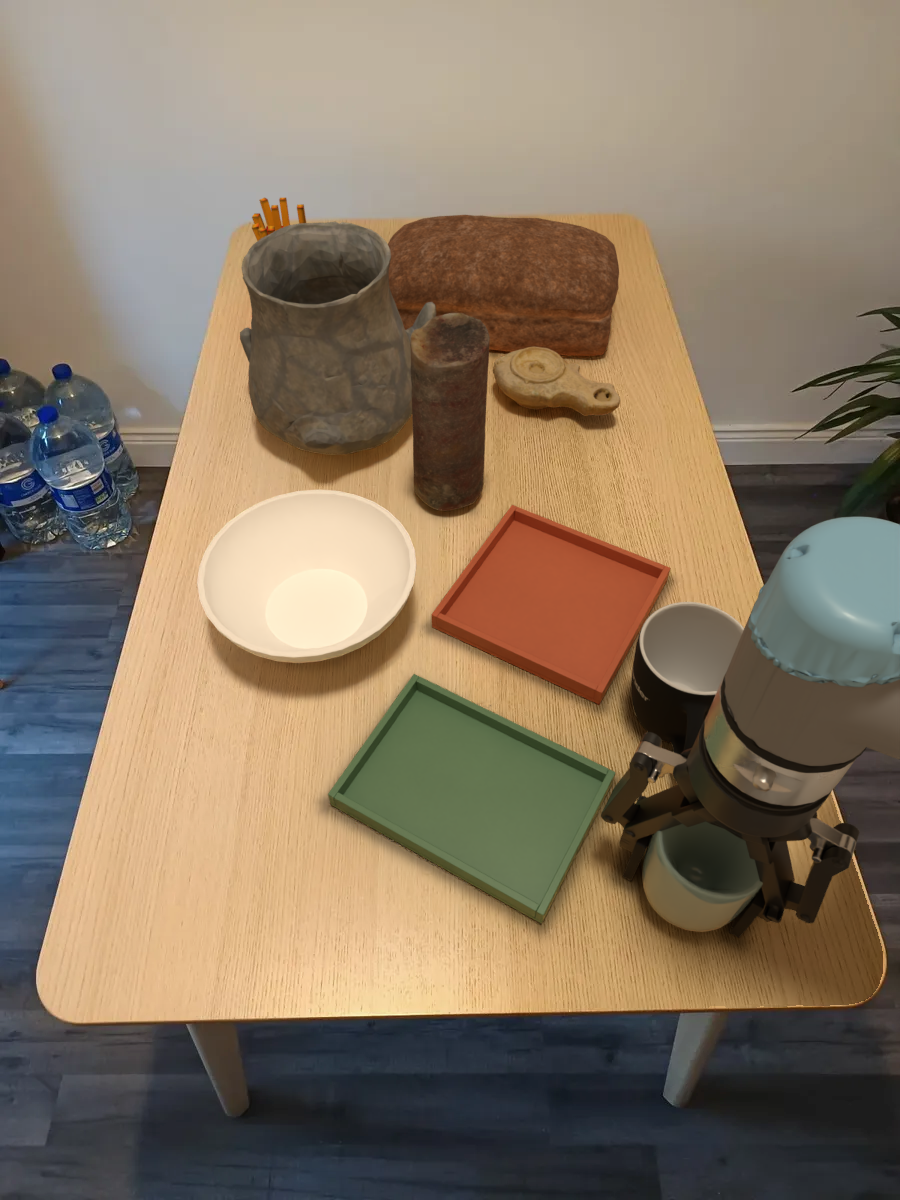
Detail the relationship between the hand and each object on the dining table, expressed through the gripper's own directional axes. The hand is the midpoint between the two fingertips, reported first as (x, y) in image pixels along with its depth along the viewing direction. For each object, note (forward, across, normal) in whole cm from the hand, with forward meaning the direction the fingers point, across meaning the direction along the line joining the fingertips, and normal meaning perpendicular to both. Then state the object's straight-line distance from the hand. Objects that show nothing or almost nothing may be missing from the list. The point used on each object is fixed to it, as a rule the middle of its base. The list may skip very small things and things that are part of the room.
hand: (685, 890), depth 65 cm
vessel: (0, -54, +32) cm, 63 cm away
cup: (0, 0, 0) cm, 0 cm away
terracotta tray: (0, -21, +20) cm, 29 cm away
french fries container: (0, -70, +46) cm, 84 cm away
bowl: (0, -40, +8) cm, 41 cm away
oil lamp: (0, -34, +47) cm, 58 cm away
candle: (0, -37, +28) cm, 46 cm away
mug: (0, -6, +13) cm, 14 cm away
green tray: (0, -18, -1) cm, 18 cm away
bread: (0, -48, +59) cm, 76 cm away
